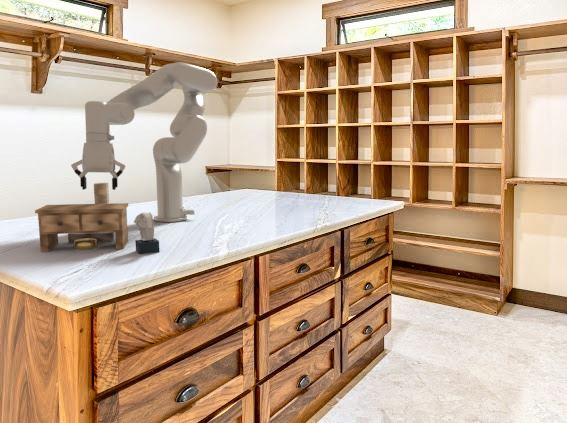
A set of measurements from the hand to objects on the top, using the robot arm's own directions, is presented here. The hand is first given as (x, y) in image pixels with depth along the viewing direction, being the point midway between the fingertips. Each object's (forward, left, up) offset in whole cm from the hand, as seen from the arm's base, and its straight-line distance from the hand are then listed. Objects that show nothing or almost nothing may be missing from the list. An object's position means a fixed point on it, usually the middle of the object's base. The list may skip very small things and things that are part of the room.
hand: (99, 189), depth 162 cm
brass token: (-1, +28, -14) cm, 31 cm away
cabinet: (-1, +27, -14) cm, 30 cm away
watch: (-19, +36, -14) cm, 43 cm away
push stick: (-1, +9, -14) cm, 17 cm away
